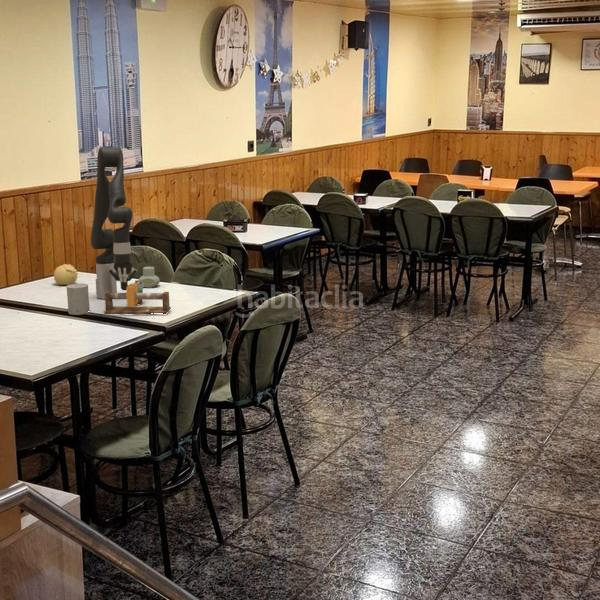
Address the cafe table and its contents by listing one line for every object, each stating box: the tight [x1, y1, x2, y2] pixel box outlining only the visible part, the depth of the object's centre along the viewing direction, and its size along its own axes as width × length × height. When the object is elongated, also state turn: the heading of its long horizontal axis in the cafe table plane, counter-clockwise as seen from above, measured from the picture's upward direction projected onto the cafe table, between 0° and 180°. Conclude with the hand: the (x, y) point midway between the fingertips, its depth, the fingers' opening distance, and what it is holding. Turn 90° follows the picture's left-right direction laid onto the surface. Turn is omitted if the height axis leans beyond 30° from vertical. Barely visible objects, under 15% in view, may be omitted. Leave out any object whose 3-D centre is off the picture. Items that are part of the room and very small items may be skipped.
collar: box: [125, 282, 138, 307], centre depth 388 cm, size 3×8×9 cm, turn 177°
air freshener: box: [138, 266, 161, 289], centre depth 442 cm, size 11×8×10 cm
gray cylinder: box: [65, 283, 91, 316], centre depth 389 cm, size 10×10×12 cm
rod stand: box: [103, 291, 172, 314], centre depth 388 cm, size 28×10×9 cm, turn 87°
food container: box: [134, 279, 145, 306], centre depth 405 cm, size 12×6×10 cm, turn 168°
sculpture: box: [53, 263, 78, 286], centre depth 449 cm, size 11×12×11 cm
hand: (124, 290), depth 387 cm, fingers closed
